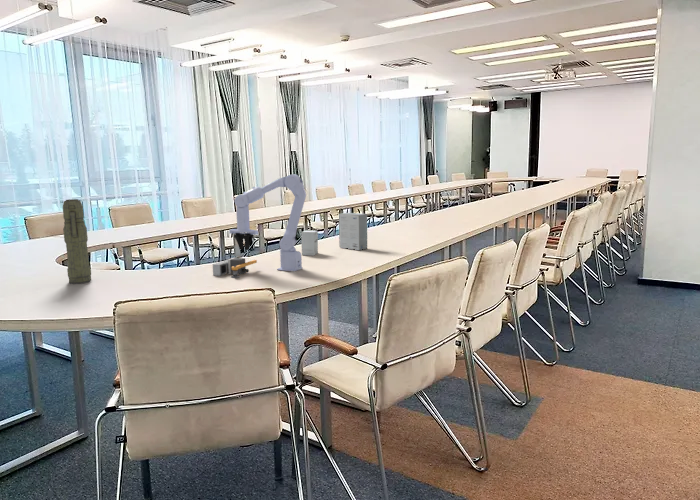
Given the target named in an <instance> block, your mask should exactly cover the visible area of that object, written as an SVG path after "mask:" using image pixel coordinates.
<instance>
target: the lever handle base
mask: <svg viewBox="0 0 700 500" xmlns="http://www.w3.org/2000/svg"><path fill="white" fill-rule="evenodd" d="M230 278H232V279H238V278H240V274H238V272H237V270H233V274H232V275H231V276H230Z"/></svg>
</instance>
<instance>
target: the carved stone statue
mask: <svg viewBox="0 0 700 500" xmlns="http://www.w3.org/2000/svg"><path fill="white" fill-rule="evenodd" d="M62 214H63V215H62V216H63V220H64V222H63V223H64V225H63V230H62V231H63V239H64V240H63V241H64V243H65V247H66V255H67V256H66V257H67V265H68V266H67V269H66V270H67V277H68V283H69V284H73V285H76V284H79V285H80V284H86V283H89V282H91V281H92V268H91V265H90V262H89V251H88V250H89V249H88V240H89V239H88V229H87V225H86V224H85V220H84V219H85V214H84V205H83V203H82V201H81V200H80V199H76V198H72V199H65V200H63V203H62Z"/></svg>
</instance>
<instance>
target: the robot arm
mask: <svg viewBox="0 0 700 500" xmlns="http://www.w3.org/2000/svg"><path fill="white" fill-rule="evenodd" d="M277 188H287V189H288V190H290V191H291V193H292V195H293V196H294V198H293V199H294V200H293V203H292V207H291V210H290V214H289V218H288V221H287V224H286V228H285V231H284V233H283V237H282V238H281V239H280V241H279V242H278V244H279V245H278V246H279V248H280V249H279V255H280V267H278V268H276V270H277V271H284V272H285V271H287V272H297V271H300V270H302V269H303V266H302V264H303V262H302V252H300V251H298V250H297V249H296V248H295V245H296V244H297V243H296V242H297V241H296V235H297V229H298V226H299V224H300V223H299V222H300V219H301V215H302V212H303V208H304V205H305V202H306V198H307V193H306V190H305V186H304V182H303V179H301V176H299V175H298V174H297V173H292V174H289V175H287V176H282V177H279V178H277V179H275V180H273V181H271V182H269V183H267V184H266V185H264V186H262V187H261V186H252V187H251V189H249V190H247V191H243V192H242V194H238V195H237V196H236V197H235V198H234V204H235V207H236V211H235V212H236V228H231V229H229V234H230V235H232V234H233V237H234V239H235V240H236V242H237V244H238V248H239V250H244V249H245V251H248V250H250V248H251V247H250V246H251V244H252V243H251V242H252V240H253V238H254V236H258V235H259V230H256V229H250V227H251V226H250V210H249V209H250V206H249V205H250V204H253V203H254V202H257V201H259V200H261V199H263V198H264V196H265V194H267V193H269V192H271V191H274V190H275V189H277Z"/></svg>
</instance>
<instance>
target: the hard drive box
mask: <svg viewBox="0 0 700 500" xmlns="http://www.w3.org/2000/svg"><path fill="white" fill-rule="evenodd" d="M338 235H339V237H338V239H339V244H338V245H339V247H341V248H340V249H345V248H348V249H347V250H353V249H355V250H354V251H362V249H363V250H367V249H368V214H367V213H360V212H359V213H358V212H357V213H356V212H342V213H339V214H338ZM366 248H367V249H366Z"/></svg>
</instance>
